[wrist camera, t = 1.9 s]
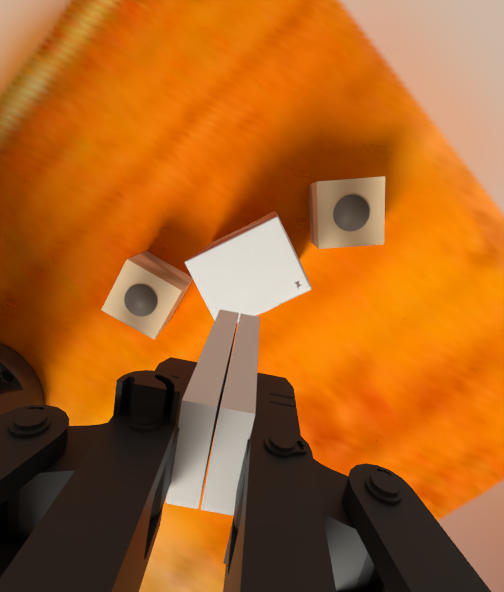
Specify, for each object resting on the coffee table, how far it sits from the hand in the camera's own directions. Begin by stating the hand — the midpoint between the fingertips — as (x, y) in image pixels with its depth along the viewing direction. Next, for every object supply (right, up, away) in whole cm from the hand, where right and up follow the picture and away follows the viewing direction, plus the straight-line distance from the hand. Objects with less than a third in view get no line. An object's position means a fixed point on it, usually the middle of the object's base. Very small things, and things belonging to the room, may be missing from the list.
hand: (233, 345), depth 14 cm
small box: (+1, +7, +26) cm, 27 cm away
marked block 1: (-10, +3, +27) cm, 29 cm away
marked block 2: (+10, +11, +24) cm, 28 cm away
